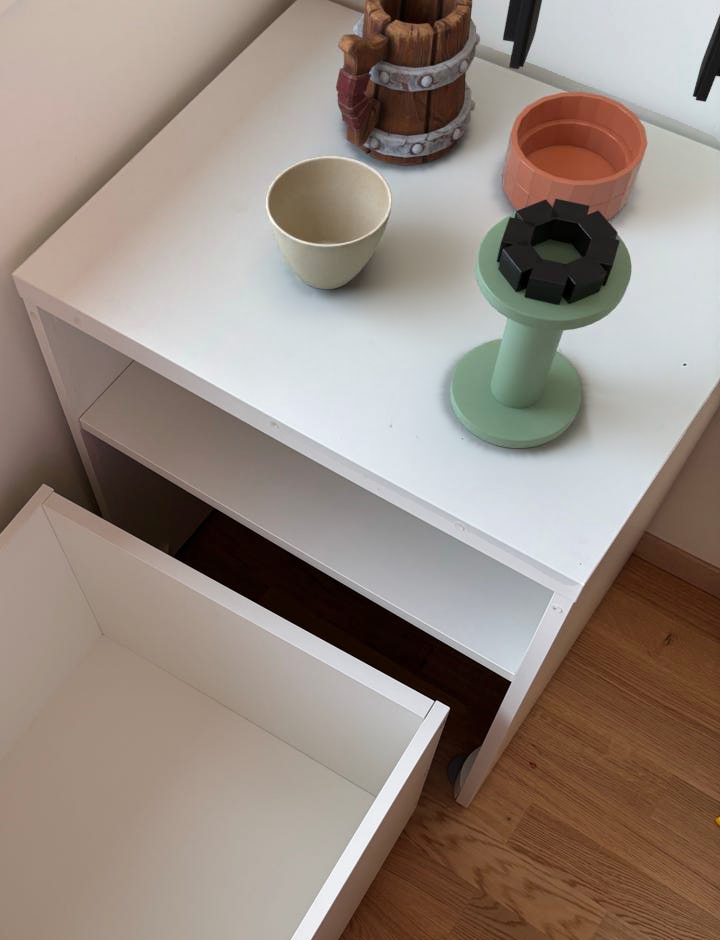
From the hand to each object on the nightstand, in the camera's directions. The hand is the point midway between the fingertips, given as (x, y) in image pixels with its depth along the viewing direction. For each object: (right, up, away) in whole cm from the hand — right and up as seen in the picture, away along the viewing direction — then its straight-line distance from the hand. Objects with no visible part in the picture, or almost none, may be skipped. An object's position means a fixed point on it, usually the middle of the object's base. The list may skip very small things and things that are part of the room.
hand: (610, 68), depth 53 cm
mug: (-6, +16, +38) cm, 42 cm away
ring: (+1, -6, +13) cm, 14 cm away
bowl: (+9, +9, +34) cm, 36 cm away
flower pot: (-12, +1, +32) cm, 34 cm away
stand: (+2, -11, +25) cm, 28 cm away
